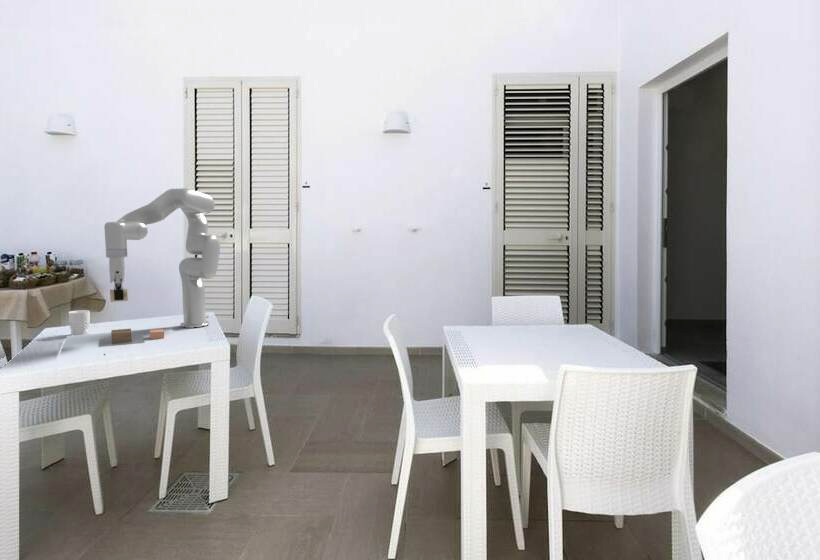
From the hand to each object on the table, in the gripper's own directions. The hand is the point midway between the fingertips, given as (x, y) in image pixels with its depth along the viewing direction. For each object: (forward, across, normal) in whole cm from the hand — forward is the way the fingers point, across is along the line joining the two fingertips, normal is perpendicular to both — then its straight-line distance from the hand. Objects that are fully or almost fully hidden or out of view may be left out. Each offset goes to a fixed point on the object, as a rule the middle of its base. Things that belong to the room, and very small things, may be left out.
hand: (119, 298), depth 224 cm
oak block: (+1, 0, 0) cm, 1 cm away
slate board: (+18, 0, 0) cm, 18 cm away
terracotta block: (+18, 0, +13) cm, 22 cm away
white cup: (+18, -26, -15) cm, 36 cm away
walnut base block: (+17, 0, 0) cm, 17 cm away
